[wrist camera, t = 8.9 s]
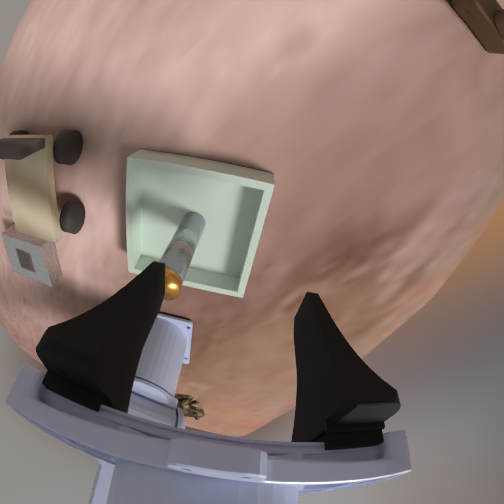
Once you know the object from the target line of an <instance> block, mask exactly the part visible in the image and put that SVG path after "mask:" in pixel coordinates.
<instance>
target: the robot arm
mask: <svg viewBox="0 0 504 504" xmlns="http://www.w3.org/2000/svg"><path fill="white" fill-rule="evenodd" d="M164 295H165V263H161V262H157V261H153V262H152V263H151V264H149V265H148V266H147V267H146V268H145V269H144V270H143V271H142V272H141V273H140V274H139V275H137V276H136V277H135V278H134V279H133V280H132V281H130V282H129V283H128V284H127V285H126V286H124V287H123V288H122V289H121V290H119V291H118V292H117V293H115V294H114V295H113V296H111V297H110V298H109V299H107V300H106V301H104V302H103V303H101V304H99V305H98V306H96V307H94V308H93V309H91V310H89V311H87V312H85V313H83V314H81V315H79V316H77V317H75V318H72V319H70V320H68V321H65V322H62V323H59V324H57V325H54V326H51V327H48V329H47V330H46V331H45V333H44V335H43V336H42V338H41V340H40V342H39V343H38V345H37V347H36V353H37V355H38V357H39V358H40V360H41V361H42V363H43V364H44V366H45V367H46V368H47V370H48V371H47V373H46V375H45V374H43V373H42V372H41V371H39V370H37V369H35V368H34V367H32V366H30V365H28V364H26V363H23V365H22V367H21V369H20V371H19V373H18V375H17V377H16V379H15V381H14V383H13V385H12V387H11V389H10V392H9V394H8V396H7V398H6V403H7V404H8V405H9V406H10V407H11V408H12V409H14V410H15V411H16V412H17V413H18V414H20V415H21V416H22V417H23V418H25V419H26V420H27V421H28V422H30V423H31V424H33V425H35V426H36V427H38V428H40V429H41V430H43V431H45V432H46V433H48V434H50V435H52V436H54V437H55V438H57V439H59V440H61V441H63V442H65V443H67V444H69V445H70V446H73V447H74V448H76V449H78V450H81V451H83V452H85V453H87V454H89V455H91V456H94V457H95V458H96V459H97V461H98V462H99V465H98V469H97V473H96V476H95V480H94V484H93V488H92V492H91V496H90V500H89V504H298V493H311V492H321V491H330V490H337V489H344V488H351V487H356V486H362V485H367V484H372V483H376V482H381V481H385V480H388V479H390V478H393V477H396V476H399V475H402V474H404V473H407V472H409V471H411V470H412V468H411V460H410V454H409V448H408V442H407V437H406V432H405V430H400V431H393V432H387V433H384V434H383V433H382V429H384V428H385V424H384V421H386V420H387V419H388V418H390V417H391V416H393V415H394V414H395V413H397V412H398V410H399V409H400V401H399V397H398V393H397V391H396V390H395V389H394V388H393V387H391V386H390V385H389V384H388V383H386V382H385V381H384V380H382V379H381V378H380V377H379V376H378V375H377V374H376V373H375V372H373V371H372V370H371V369H370V368H369V367H368V366H367V365H366V364H365V362H364V361H363V360H362V359H361V358H360V357H359V356H358V355H357V354H356V352H355V351H354V350H353V349H352V347H351V346H350V345H349V343H348V342H347V341H346V339H345V338H344V336H343V335H342V333H341V332H340V330H339V329H338V327H337V326H336V324H335V322H334V321H333V319H332V318H331V316H330V314H329V312H328V311H327V309H326V307H325V305H324V303H323V302H322V300H321V298H320V296H319V295H318V294H316V293H311V292H307V293H306V295H305V297H304V299H303V301H302V303H301V305H300V308H299V310H298V312H297V314H296V316H295V318H294V345H295V356H296V367H297V396H296V411H295V419H294V428H293V435H292V441H291V442H278V441H263V440H252V439H242V438H234V437H227V436H220V435H214V434H208V433H202V432H197V431H192V430H187V429H185V416H184V414H183V412H182V410H181V409H180V408H178V407H177V403H178V399H176V398H174V396H175V392H176V387H177V383H178V379H179V375H180V371H181V367H182V363H185V364H188V363H189V360H190V349H191V338H192V328H193V323H192V322H191V321H190V320H186V319H181V318H177V317H173V316H169V315H165V314H161V313H159V311H160V308H161V305H162V302H163V298H164Z"/></svg>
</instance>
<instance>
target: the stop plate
mask: <svg viewBox="0 0 504 504" xmlns="http://www.w3.org/2000/svg"><path fill="white" fill-rule="evenodd" d="M2 237H3V241H4V244H5V248H6V251H7V254H8V257H9V260H10V263H11V266H12V269H13V271H14V272H16V273H18V274H21V275H23V276H25V277H28V278H30V279H33V280H35V281H38V282H40V283H43V284H45V285H48V286H51V287H53V286H54V285H55V283H56V282H57V281H58V280H59V278H60V277H61V276H62V271H61V268H60V264H59V259H58V255H57V251H56V246H55V243H54V242H51V241H47V240H44V239H41V238H37V237H34V236H30V235H27V234H24V233H21V232H17V231H16V228H15V224H12V225H11V226H10V227H9V228H7V229H6V230H5V231H4V232H3V233H2Z"/></svg>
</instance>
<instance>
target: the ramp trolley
mask: <svg viewBox="0 0 504 504" xmlns="http://www.w3.org/2000/svg"><path fill="white" fill-rule="evenodd" d="M82 145H83V140H82V135H81V133H80V132H79V131H76V130H64V131H62V132H60V133H59V135H58V136H57V138H56V140H55V142H54V146H53V135H29V134H28V132H26V131H24V130H18V131H13V132H12V133H10V135H9V136H7V137H5V138H3V139H0V159H4V160H5V170H6V179H7V186H8V192H9V199H10V204H11V209H12V214H13V219H14V224H15V228H16V231H17V232H21V233H24V234H27V235H30V236H34V237H37V238H41V239H44V240H47V241H51V242H54V243H57V242H58V241H59V240H60V239H61V238H62V235H61V229H62V230H63V231H64V232H68V233H72V234H76V233H78V232H79V231H80V230H81V228H82V226H83V223H84V219H85V208H84V206H83V204H82V203H78V202H73V201H69V202H67V203H66V204H65V205H64V206H63V208H62V210H61V213H60V220H59V216H58V209H57V200H56V191H55V180H54V164H53V156H54V159H55V161H56V162H57V163H59V164H67V165H72V164H74V163H75V162H76V161H77V160H78V158H79V156H80V154H81V151H82ZM59 222H60V223H59ZM60 227H61V229H60Z"/></svg>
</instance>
